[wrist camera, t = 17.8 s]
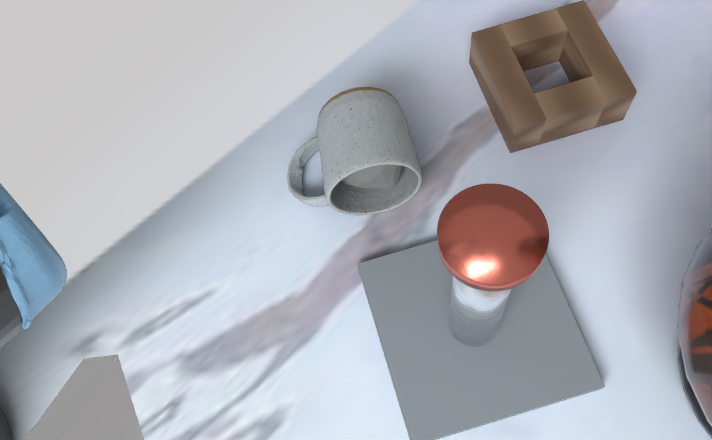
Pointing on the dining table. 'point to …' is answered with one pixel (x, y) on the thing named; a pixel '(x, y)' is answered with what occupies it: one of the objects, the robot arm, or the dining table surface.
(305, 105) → the dining table surface
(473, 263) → the red-capped mushroom
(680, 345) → the amphora vase
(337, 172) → the ceramic mug
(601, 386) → the mat
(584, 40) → the eye block
